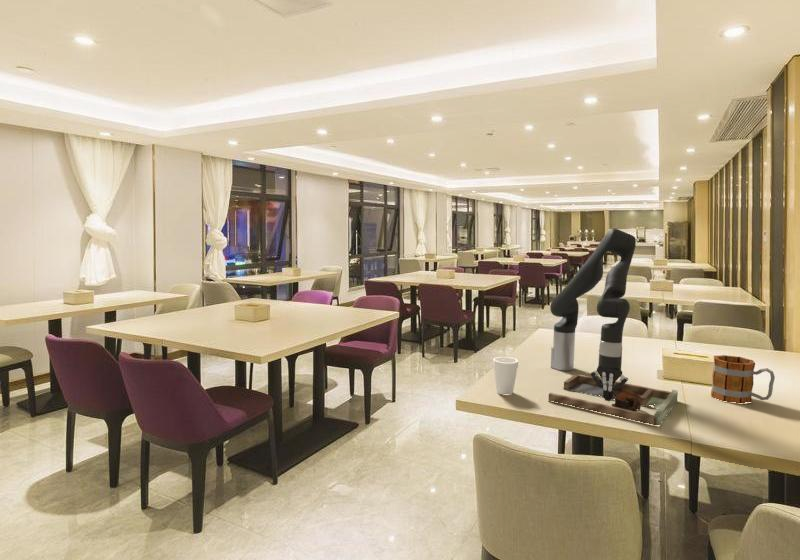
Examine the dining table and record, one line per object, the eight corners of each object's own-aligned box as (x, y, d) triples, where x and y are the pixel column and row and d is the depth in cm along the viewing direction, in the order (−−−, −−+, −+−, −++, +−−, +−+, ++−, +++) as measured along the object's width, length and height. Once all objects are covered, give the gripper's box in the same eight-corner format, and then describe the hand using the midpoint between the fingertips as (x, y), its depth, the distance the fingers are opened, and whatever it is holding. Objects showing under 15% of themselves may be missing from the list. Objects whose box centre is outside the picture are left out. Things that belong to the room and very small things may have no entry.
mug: (703, 397, 186) (706, 358, 184) (717, 390, 194) (720, 353, 193) (766, 412, 170) (769, 370, 169) (777, 404, 179) (781, 364, 177)
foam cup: (502, 398, 183) (503, 364, 182) (487, 390, 191) (488, 358, 190) (522, 394, 187) (523, 361, 186) (506, 387, 196) (507, 355, 194)
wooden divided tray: (546, 401, 180) (546, 390, 180) (575, 380, 205) (576, 371, 204) (658, 427, 157) (659, 415, 156) (677, 401, 181) (677, 390, 181)
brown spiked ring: (604, 408, 175) (611, 386, 176) (626, 419, 175) (634, 398, 177) (624, 412, 163) (632, 389, 165) (648, 423, 164) (656, 401, 165)
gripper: (633, 354, 172) (630, 401, 174) (594, 348, 181) (592, 393, 182) (627, 358, 166) (624, 407, 168) (588, 352, 175) (585, 398, 177)
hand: (607, 400), depth 175 cm, fingers closed
